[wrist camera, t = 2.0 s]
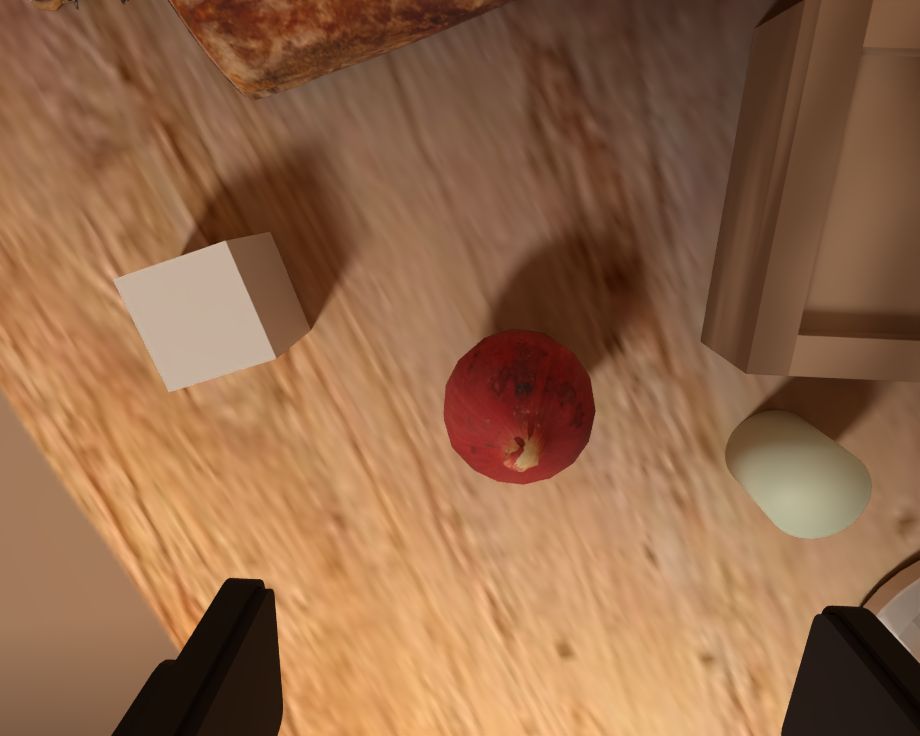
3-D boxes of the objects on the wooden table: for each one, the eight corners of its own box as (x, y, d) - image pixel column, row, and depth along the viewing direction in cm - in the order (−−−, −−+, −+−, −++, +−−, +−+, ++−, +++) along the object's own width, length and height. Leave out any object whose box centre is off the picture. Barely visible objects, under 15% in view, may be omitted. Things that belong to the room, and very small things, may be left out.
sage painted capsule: (823, 412, 25) (883, 451, 22) (803, 490, 27) (857, 541, 23) (733, 407, 26) (777, 445, 22) (717, 486, 27) (756, 535, 23)
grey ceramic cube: (271, 231, 24) (225, 240, 20) (311, 330, 25) (276, 358, 21) (177, 263, 25) (112, 279, 20) (220, 358, 26) (168, 392, 22)
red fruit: (456, 305, 25) (444, 358, 17) (588, 320, 25) (635, 380, 17) (443, 427, 26) (427, 525, 19) (566, 441, 26) (600, 545, 19)
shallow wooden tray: (1086, 39, 21) (1244, 0, 16) (982, 354, 24) (1088, 390, 20) (754, 28, 21) (823, -13, 17) (700, 341, 25) (746, 373, 20)
